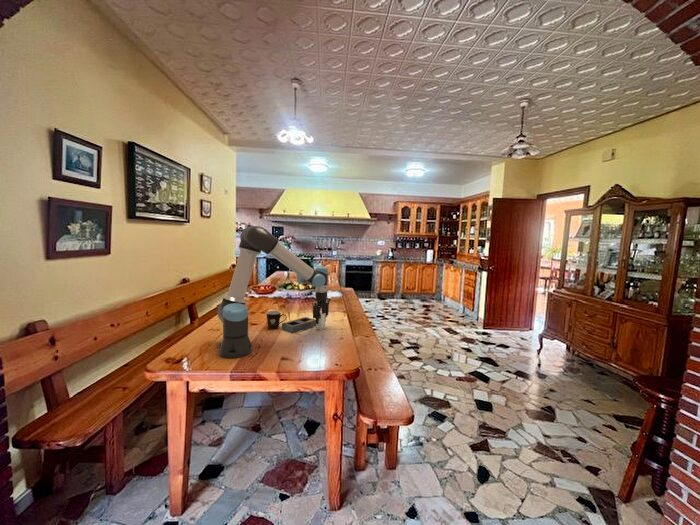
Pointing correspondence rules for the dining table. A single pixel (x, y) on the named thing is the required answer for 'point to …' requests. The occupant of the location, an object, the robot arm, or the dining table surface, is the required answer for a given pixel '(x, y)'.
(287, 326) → the grey cinder block
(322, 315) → the aluminium peg
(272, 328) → the coffee mug
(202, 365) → the dining table surface
